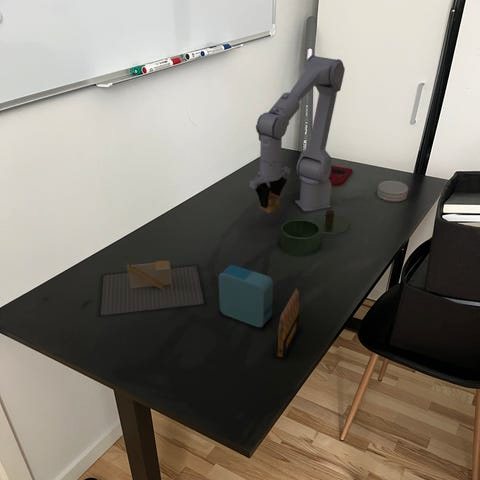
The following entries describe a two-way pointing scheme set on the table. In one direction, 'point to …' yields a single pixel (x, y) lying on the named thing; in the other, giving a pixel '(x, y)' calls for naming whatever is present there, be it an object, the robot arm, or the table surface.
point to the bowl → (297, 243)
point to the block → (271, 203)
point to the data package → (246, 295)
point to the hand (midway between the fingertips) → (269, 204)
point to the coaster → (392, 191)
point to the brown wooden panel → (288, 325)
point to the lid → (331, 223)
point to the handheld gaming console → (339, 175)
